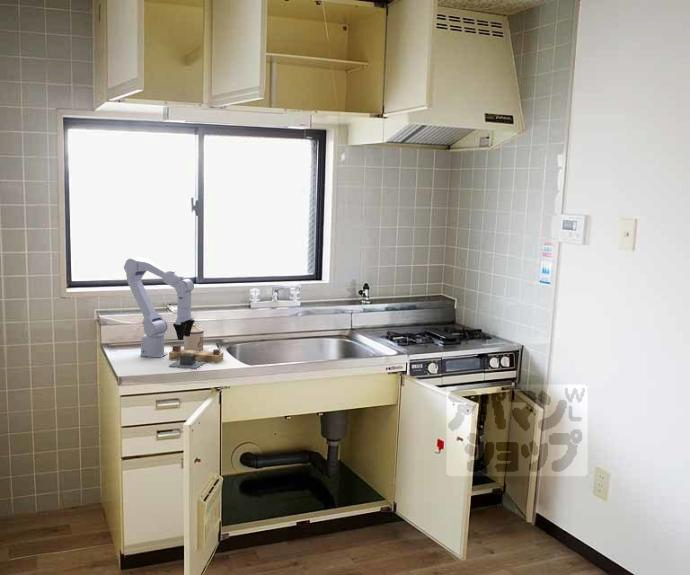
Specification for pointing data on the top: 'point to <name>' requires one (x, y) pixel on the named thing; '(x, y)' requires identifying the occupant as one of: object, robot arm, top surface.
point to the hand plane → (197, 354)
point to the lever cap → (187, 359)
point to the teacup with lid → (194, 339)
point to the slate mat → (194, 366)
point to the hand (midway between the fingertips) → (183, 338)
